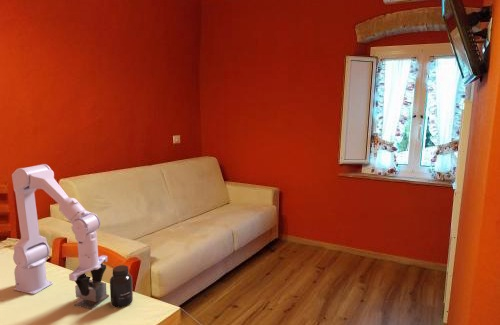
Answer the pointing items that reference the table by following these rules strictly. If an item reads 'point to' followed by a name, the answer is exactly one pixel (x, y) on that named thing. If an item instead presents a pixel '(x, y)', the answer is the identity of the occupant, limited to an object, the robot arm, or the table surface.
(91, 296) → the hollow rectangular frame
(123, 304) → the supplement bottle
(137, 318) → the table surface
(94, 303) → the keeper
